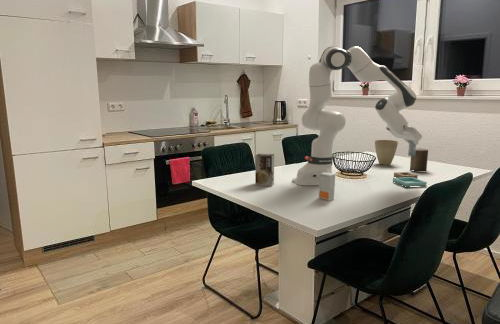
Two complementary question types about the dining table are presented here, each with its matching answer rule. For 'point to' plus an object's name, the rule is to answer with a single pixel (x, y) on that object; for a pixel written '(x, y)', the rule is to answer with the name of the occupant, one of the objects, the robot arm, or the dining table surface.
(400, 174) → the walnut collar
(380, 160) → the plant pot
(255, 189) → the dining table surface
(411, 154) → the metal peg
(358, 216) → the dining table surface
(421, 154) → the pillar candle
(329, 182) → the skincare box
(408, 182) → the teal tray
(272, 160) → the coffee box
